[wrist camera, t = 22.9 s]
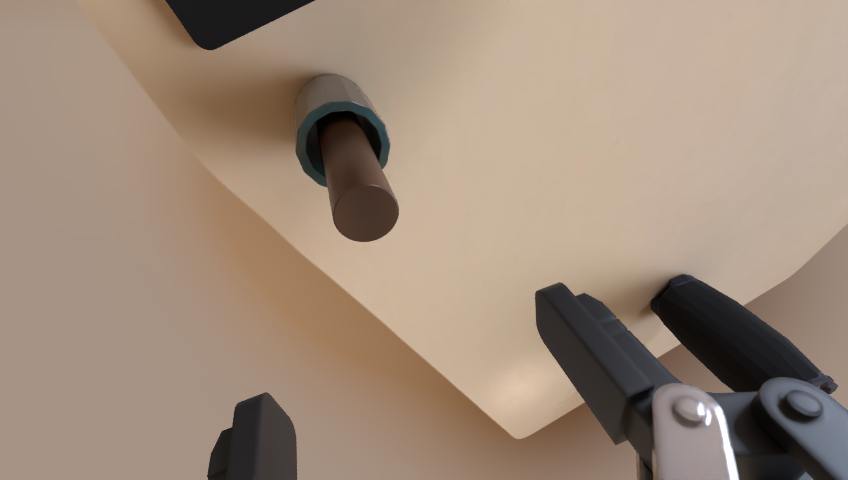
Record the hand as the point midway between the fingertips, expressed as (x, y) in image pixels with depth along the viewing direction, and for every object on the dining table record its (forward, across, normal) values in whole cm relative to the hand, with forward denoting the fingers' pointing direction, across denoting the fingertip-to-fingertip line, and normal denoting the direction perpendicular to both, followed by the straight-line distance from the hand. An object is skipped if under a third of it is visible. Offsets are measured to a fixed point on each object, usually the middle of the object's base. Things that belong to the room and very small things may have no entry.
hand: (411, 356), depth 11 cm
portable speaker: (+25, -40, +41) cm, 62 cm away
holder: (+25, 0, 0) cm, 25 cm away
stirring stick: (+24, 0, 0) cm, 24 cm away
